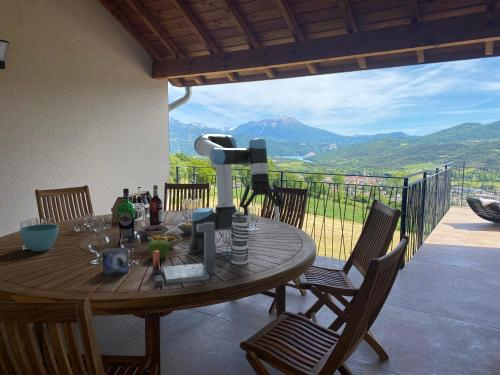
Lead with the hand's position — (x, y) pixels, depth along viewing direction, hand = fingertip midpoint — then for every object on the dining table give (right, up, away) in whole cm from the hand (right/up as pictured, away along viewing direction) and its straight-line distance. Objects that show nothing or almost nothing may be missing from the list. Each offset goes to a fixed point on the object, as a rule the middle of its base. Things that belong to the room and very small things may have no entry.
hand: (263, 222), depth 151 cm
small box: (-66, -23, +6) cm, 71 cm away
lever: (-48, -22, +4) cm, 53 cm away
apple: (-52, -21, +27) cm, 63 cm away
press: (-35, -24, +3) cm, 42 cm away
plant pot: (-120, -19, +39) cm, 128 cm away
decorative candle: (-11, -22, +23) cm, 34 cm away
